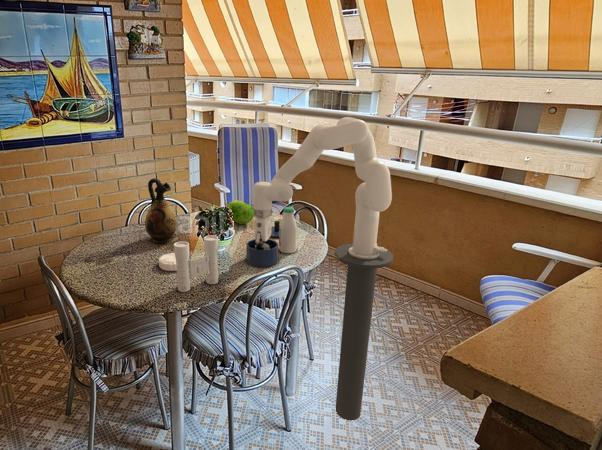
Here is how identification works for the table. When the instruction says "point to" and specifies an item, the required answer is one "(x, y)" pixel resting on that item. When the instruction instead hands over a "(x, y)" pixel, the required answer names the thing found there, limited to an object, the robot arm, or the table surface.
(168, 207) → the ceramic jug
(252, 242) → the pot
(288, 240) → the milk bottle
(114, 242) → the table surface
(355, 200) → the robot arm
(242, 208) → the green fuzzy rounded mound
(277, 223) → the pot lid
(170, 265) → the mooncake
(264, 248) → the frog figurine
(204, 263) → the binoculars
